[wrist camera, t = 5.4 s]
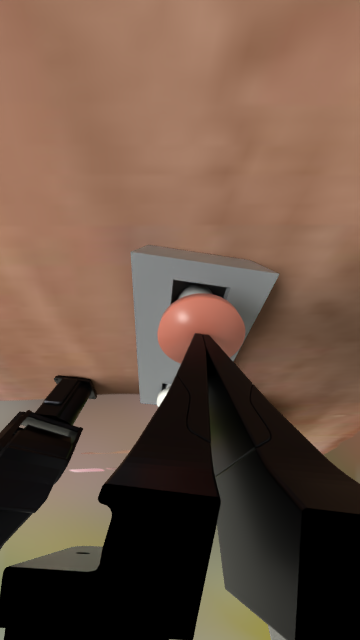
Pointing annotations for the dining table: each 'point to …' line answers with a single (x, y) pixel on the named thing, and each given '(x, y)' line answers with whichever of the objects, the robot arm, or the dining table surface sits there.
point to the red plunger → (199, 322)
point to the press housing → (163, 289)
